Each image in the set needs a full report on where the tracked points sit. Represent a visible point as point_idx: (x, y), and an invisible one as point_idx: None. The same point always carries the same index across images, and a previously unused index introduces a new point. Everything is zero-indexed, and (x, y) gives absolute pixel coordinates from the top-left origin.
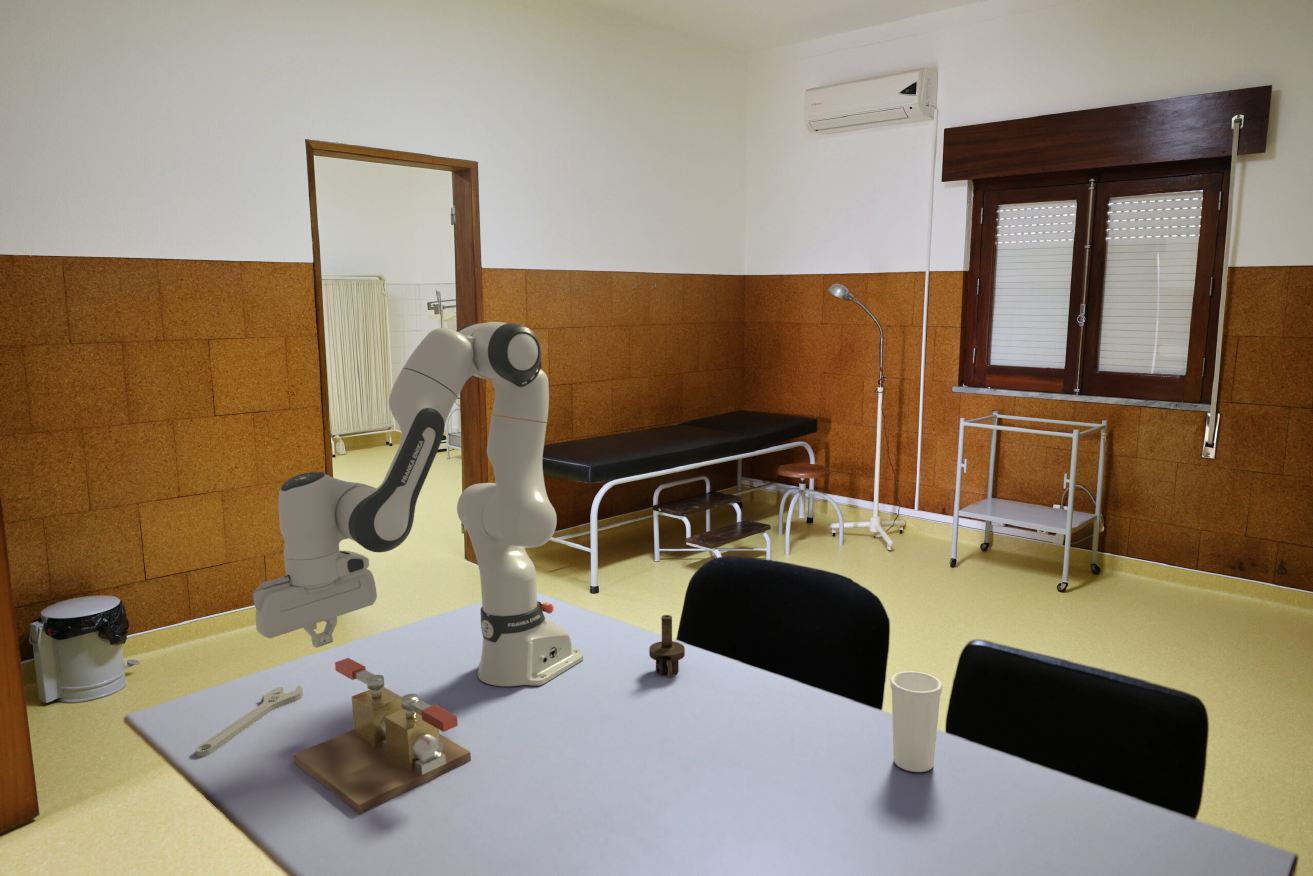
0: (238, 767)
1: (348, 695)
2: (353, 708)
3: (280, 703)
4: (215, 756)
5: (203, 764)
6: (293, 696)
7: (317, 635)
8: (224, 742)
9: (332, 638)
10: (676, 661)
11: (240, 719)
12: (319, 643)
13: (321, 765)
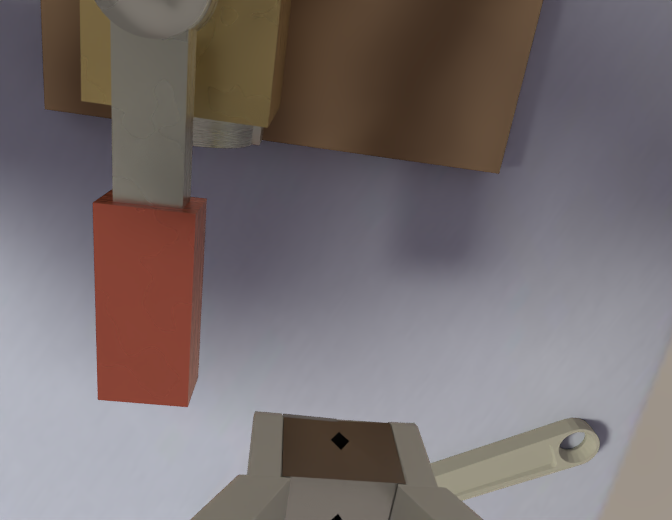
0: (585, 290)
1: (99, 411)
2: (273, 108)
3: None
4: (569, 397)
5: (614, 384)
6: None
7: (426, 509)
8: (513, 440)
9: (254, 431)
10: None
11: None
12: (396, 437)
13: (506, 1)
